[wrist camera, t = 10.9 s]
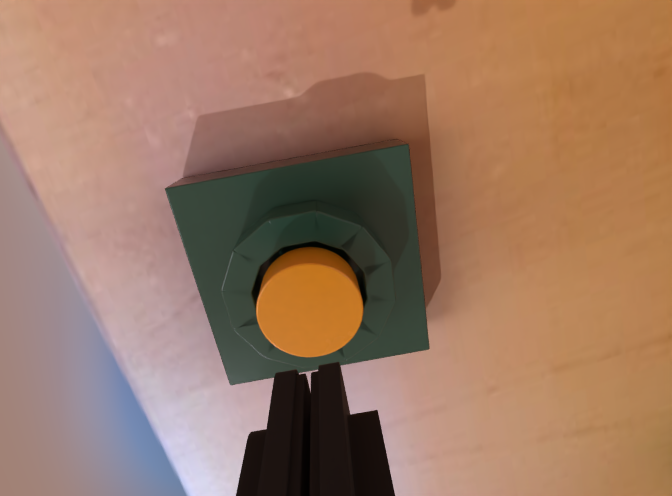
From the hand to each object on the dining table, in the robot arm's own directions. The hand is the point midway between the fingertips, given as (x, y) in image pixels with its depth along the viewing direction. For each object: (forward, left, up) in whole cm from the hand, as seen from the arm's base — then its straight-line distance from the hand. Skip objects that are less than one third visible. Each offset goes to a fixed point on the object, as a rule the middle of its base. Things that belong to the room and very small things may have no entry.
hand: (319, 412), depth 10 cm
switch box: (0, 0, -10) cm, 10 cm away
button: (0, 0, -7) cm, 7 cm away
